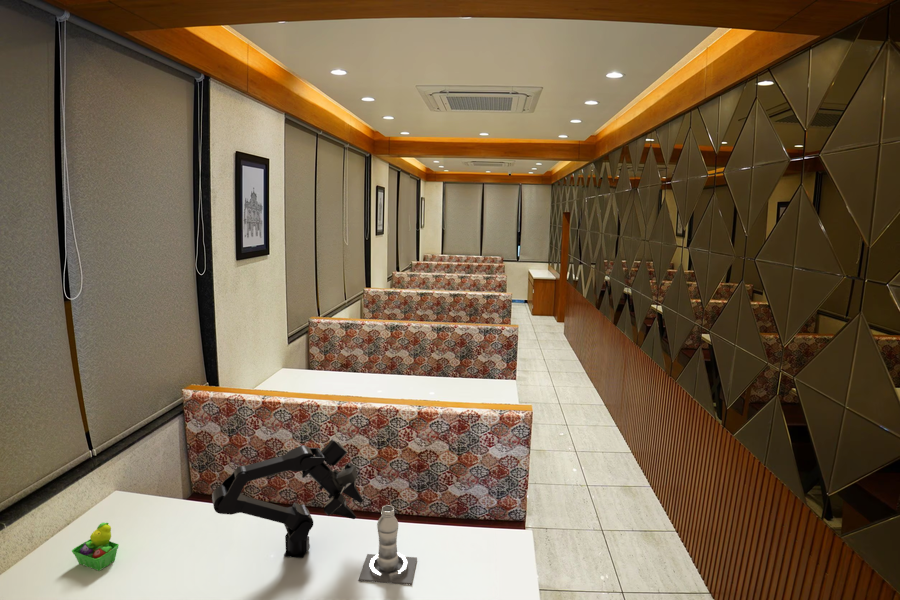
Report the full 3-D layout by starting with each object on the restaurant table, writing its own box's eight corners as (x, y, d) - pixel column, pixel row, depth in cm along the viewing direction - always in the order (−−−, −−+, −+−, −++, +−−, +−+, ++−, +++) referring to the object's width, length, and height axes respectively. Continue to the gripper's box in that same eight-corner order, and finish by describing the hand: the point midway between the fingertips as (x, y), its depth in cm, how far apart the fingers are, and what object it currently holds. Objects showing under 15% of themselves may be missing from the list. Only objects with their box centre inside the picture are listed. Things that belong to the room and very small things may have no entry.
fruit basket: (71, 565, 162) (67, 532, 160) (99, 548, 171) (95, 516, 169) (98, 575, 159) (94, 541, 156) (125, 557, 167) (122, 524, 165)
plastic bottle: (388, 578, 159) (388, 517, 155) (372, 568, 163) (372, 509, 159) (403, 566, 164) (403, 507, 161) (386, 557, 168) (387, 500, 164)
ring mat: (358, 580, 158) (358, 579, 158) (367, 555, 170) (367, 553, 170) (411, 584, 157) (411, 583, 157) (416, 559, 169) (416, 557, 169)
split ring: (366, 579, 158) (366, 574, 158) (374, 554, 169) (374, 550, 169) (403, 582, 158) (403, 577, 157) (409, 557, 169) (409, 552, 168)
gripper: (333, 475, 159) (369, 511, 161) (349, 447, 178) (382, 479, 179) (308, 497, 161) (344, 533, 163) (326, 467, 180) (359, 499, 181)
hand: (358, 509), depth 171 cm, fingers open, 9 cm apart
